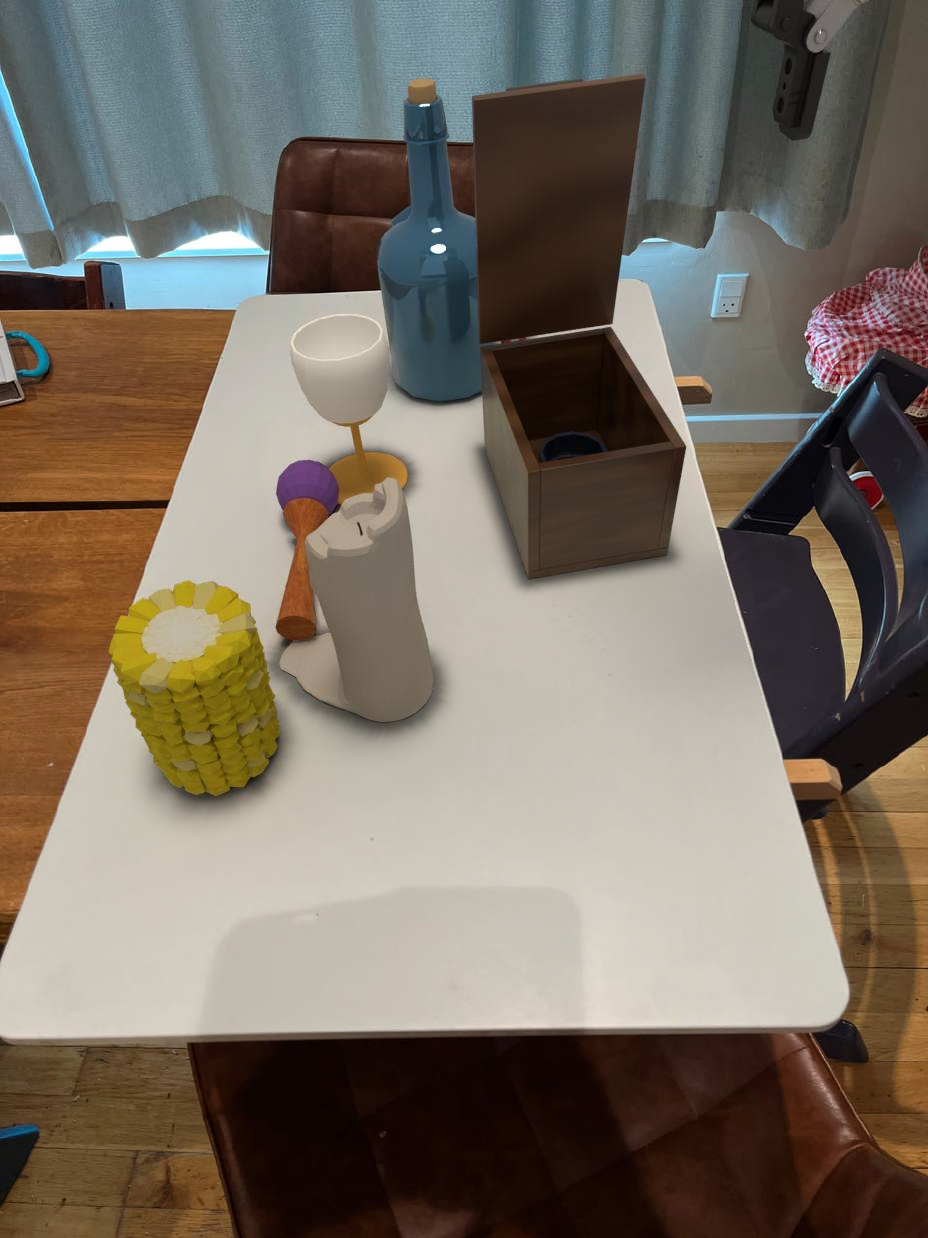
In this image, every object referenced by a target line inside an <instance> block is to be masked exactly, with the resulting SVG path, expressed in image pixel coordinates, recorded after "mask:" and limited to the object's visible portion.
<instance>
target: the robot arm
mask: <svg viewBox="0 0 928 1238" xmlns="http://www.w3.org/2000/svg"><path fill="white" fill-rule="evenodd" d="M869 1H870V0H753V2H752V5H751V11H750V22H751V24H752V26H753V27H754V28H756V29H758V30H760V31H761V32H763V33H765V34H767V35H769V36H771V37H773V38H775V39H776V40H779V41H782V43H783V55H782V61H781V64H780V71H779V75H778V80H777V87H776V89H775V97H774V100H773V106H772V115H773V121H775V122H776V123H778V129H779V132H780V133H781V134H782V135H784V136H786V137H787V138H788V139H789V140H791V141H793V142H794V141H801V140H807V139H809V138H810V137H811V135H812V133H813V130H814V125H815V120H816V117H817V114H818V113H817V112H818V109H819V104H820V100H821V96H822V91H823V88H824V83H825V79H826V75H827V71H828V67H829V63H830V57H831V55H832V54H831V51H829V50H827V49H826V48H827V47H828V45H829V44H830V43H831V42H832V40H833V39H834V38H835V37H836V35H837V34H838V33H839V31H840V30H841V29H842V27H843V26H844V25H845V24H846V23H847V21H848V20H849V18H850V17H851V16H852V14H853V13H854V12H855V10H856V9H858V8H859V7H860V6H862V5H864V4H867V3H868V2H869Z"/></svg>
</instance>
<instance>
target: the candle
mask: <svg viewBox="0 0 928 1238" xmlns="http://www.w3.org/2000/svg"><path fill="white" fill-rule="evenodd" d="M408 508H409V507H408V504H407V500H406V497H405V494H404V490H403V489H402V488H401V486H400V484H399V483H398V481H397V480H396V479H394V478H388V477H387V478H386V479H385V480H384V481H383V482H382V483H379V484H376V485H375V488H374V492H373V493H363V494H358V495H356V496H353V497H350V498H348V499H346V500H345V501H344V502H343V504H342V505H340V508H339V510H338V511H336V512H334V513H332V514H331V515H329V516H328V519H327V520H326V521H325V522H324V523H323V524H322V525H321V526H320V527H319V528H318V529H316V530H315V531H314V532H312V533H311V534H309V535H308V536H307V537H306V540H305V551H306V556H307V560H308V564H309V577H310V586H311V588H312V590H313V594H315V596H316V597H317V600H318V603H319V606H320V609H321V612H322V615H323V617H324V618H323V619H324V620H325V623H326V625H327V628H328V630H329V632H326V633H323V634H321V635H312V636H311V637H310V638H307V639H305V640H292V641H291V642H290V644H289V645H288V646H287V647H286V648H285V649H284V651H283V653H282V655H281V657H280V660H279V667H280V669H281V670H283V671H284V672H286V673H288V674H289V675H291V676H293V677H295V678H296V680H297V682H298V684H299V685H300V686H301V688H302V689H303V690H304V692H305V693H307V694H309V695H310V696H312V697H313V698H315V699H317V700H318V701H319V702H322V703H325V704H328V705H331V706H332V707H335V708H339V709H341V710H344V711H347V712H350V713H353V714H356V715H358V716H359V717H362V718H364V719H366V720H370V721H373V722H380V723H390V722H397V721H400V720H403V719H406V718H408V717H410V716H412V715H414V714H416V713H418V712H419V711H420V710H421V709H422V708H423V707H424V706H425V705H426V703H427V702H428V701H429V700H430V697H432V693H433V690H434V685H435V684H434V683H435V681H434V674H433V673H434V672H433V667H432V660H431V654H430V648H429V647H430V645H429V642H428V637H427V633H426V628H425V626H424V622H423V618H422V615H421V611H420V607H419V601H418V596H417V587H416V574H415V573H416V572H415V558H414V545H413V536H412V527H411V522H410V515H409V509H408Z"/></svg>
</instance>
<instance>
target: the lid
mask: <svg viewBox="0 0 928 1238" xmlns="http://www.w3.org/2000/svg"><path fill="white" fill-rule="evenodd" d="M646 81H647V77H646V76H645V74H644V73H638V74H629V75H622V76H613V77H606V78H600V79H591V80H584V79H583V78H582V77H579V78H572V79H571V78H570V79H565V80H564V79H563V80H555V81H548V82H540V83H533V84H525V85H517V86H508V87H506V89H505V91H498V92H490V93H484V94H483V93H482V94H476V95H475V94H474V95H471V108H472V109H471V110H472V111H471V116H472V119H471V120H472V145H473V147H472V150H473V151H472V152H473V184H474V187H473V188H474V189H473V190H474V218H475V229H476V265H477V301H478V338H479V342H480V344H485V343H492V342H498V341H501V342H502V341H505V340H511V339H518V338H525V337H526V338H531V337H537V336H538V337H539V336H543V335H544V336H545V335H550V334H551V335H552V334H557V333H562V332H571V331H576V330H582V329H589V328H596V327H602V326H603V327H604V326H609V325H613V324H614V323H613V322H614V317H615V311H616V309H615V308H616V303H617V302H616V301H617V295H618V294H617V293H618V288H619V281H620V280H619V279H620V272H621V264H622V258H623V250H624V244H625V235H626V229H627V221H628V214H629V205H630V200H631V191H632V185H633V184H632V183H633V176H634V171H635V170H634V168H635V162H636V154H637V149H638V148H637V147H638V140H639V132H640V124H641V119H642V111H643V103H644V96H645V95H644V94H645V89H646V88H645V87H646ZM526 338H525V339H526Z"/></svg>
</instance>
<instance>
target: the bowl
mask: <svg viewBox="0 0 928 1238" xmlns="http://www.w3.org/2000/svg"><path fill="white" fill-rule="evenodd" d="M603 452H608V451H607V449H606V447H605V445H604V443H603V441H601V440H599V439H598V438H596V437H594V436H592V435H591V434H587V433H580V432H574V431H572V432H566V433H559V434H555V435H553V436H552V437H550V438H548V439H547V440H545V441H543V443H542V445H541V447H540V449H539V452H538V463H542V462H548V461H554V460H560V459H566V458H572V457H579V456H585V455H591V454H597V453H603Z"/></svg>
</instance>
